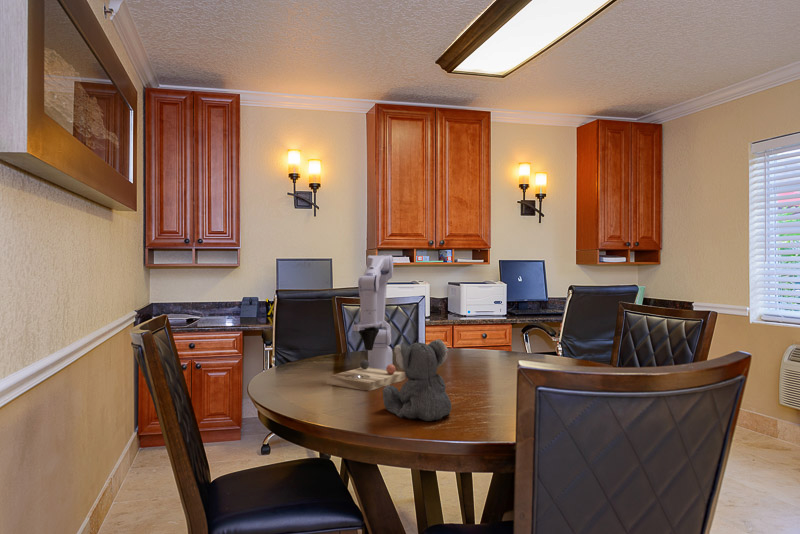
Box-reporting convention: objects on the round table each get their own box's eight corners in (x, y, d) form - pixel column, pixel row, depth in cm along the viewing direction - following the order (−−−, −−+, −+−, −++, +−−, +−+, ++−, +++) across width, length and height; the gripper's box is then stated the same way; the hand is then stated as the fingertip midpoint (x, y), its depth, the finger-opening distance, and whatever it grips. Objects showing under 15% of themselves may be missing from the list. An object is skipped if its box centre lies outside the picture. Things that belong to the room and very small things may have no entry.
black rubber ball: (363, 367, 188) (363, 358, 188) (370, 368, 186) (370, 359, 186) (358, 369, 185) (358, 360, 185) (365, 370, 183) (365, 360, 183)
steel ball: (353, 385, 173) (357, 376, 174) (362, 386, 171) (365, 378, 173) (349, 381, 170) (353, 372, 172) (357, 383, 169) (361, 374, 170)
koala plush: (437, 402, 149) (436, 334, 149) (467, 419, 132) (466, 342, 132) (379, 408, 143) (379, 337, 143) (403, 427, 126) (403, 346, 126)
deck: (364, 373, 189) (364, 366, 189) (405, 379, 179) (405, 372, 179) (326, 383, 173) (326, 376, 173) (369, 391, 163) (369, 383, 163)
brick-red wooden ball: (389, 372, 179) (389, 363, 179) (397, 373, 177) (397, 364, 177) (384, 374, 176) (384, 364, 176) (392, 375, 174) (391, 365, 174)
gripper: (372, 308, 187) (372, 346, 187) (346, 311, 175) (346, 351, 175) (388, 309, 183) (388, 347, 183) (362, 312, 171) (362, 353, 171)
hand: (368, 350), depth 178 cm, fingers closed
